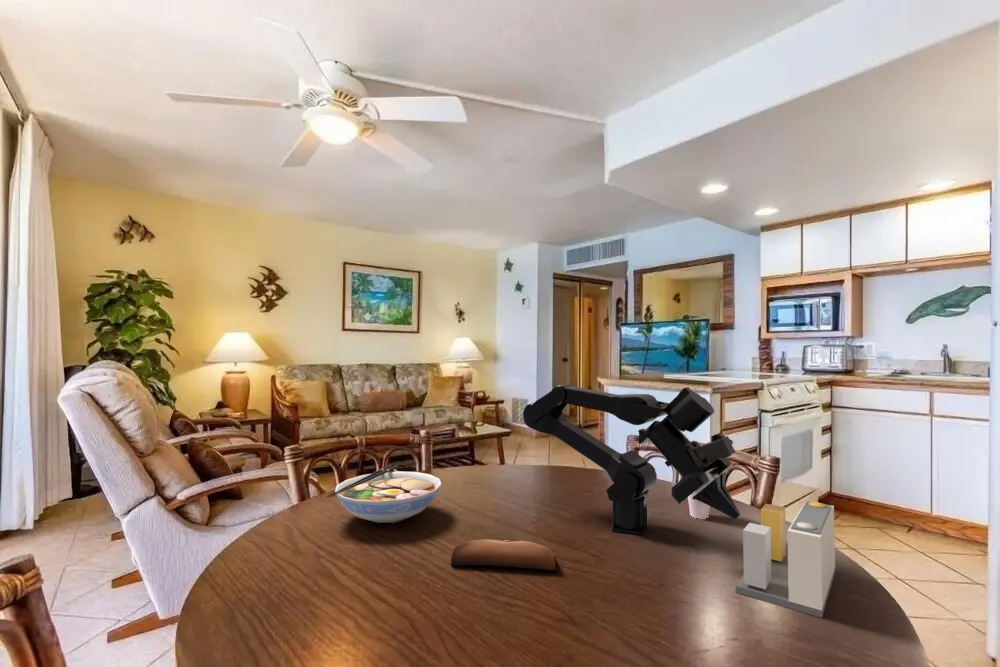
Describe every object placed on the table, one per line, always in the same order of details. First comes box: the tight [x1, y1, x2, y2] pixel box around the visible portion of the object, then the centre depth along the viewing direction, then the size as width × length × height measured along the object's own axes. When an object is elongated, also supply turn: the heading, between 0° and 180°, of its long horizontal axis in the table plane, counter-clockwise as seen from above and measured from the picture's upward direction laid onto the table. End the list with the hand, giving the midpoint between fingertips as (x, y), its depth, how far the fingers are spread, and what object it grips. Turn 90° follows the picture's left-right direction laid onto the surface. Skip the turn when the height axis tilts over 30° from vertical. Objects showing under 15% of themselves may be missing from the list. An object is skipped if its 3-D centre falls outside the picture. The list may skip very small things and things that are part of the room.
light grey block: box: [742, 522, 772, 589], centre depth 75 cm, size 3×4×8 cm
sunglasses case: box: [450, 538, 557, 573], centre depth 86 cm, size 18×7×7 cm, turn 82°
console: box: [735, 500, 836, 619], centre depth 78 cm, size 11×17×12 cm, turn 141°
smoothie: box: [687, 491, 711, 520], centre depth 108 cm, size 6×6×14 cm
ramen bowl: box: [326, 464, 443, 524], centre depth 107 cm, size 25×23×8 cm
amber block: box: [760, 503, 787, 562], centre depth 84 cm, size 3×4×8 cm
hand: (737, 516), depth 88 cm, fingers closed
